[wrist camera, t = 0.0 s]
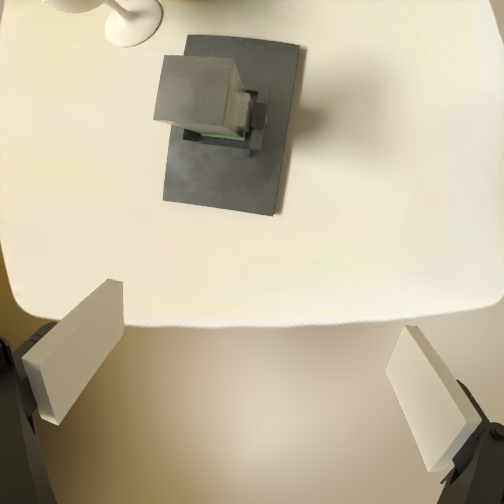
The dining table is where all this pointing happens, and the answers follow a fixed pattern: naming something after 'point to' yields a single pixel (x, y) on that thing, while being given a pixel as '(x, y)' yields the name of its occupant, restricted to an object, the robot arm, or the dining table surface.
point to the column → (203, 96)
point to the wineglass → (119, 18)
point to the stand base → (229, 150)
